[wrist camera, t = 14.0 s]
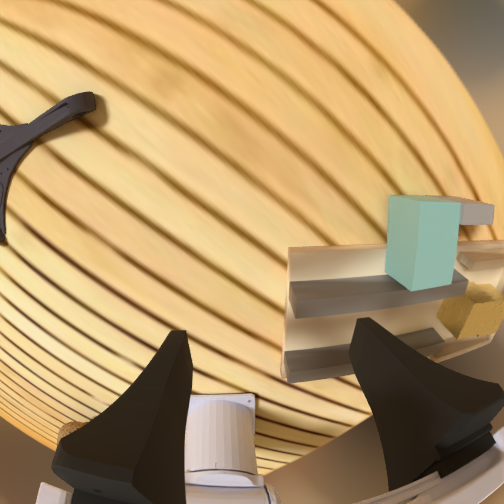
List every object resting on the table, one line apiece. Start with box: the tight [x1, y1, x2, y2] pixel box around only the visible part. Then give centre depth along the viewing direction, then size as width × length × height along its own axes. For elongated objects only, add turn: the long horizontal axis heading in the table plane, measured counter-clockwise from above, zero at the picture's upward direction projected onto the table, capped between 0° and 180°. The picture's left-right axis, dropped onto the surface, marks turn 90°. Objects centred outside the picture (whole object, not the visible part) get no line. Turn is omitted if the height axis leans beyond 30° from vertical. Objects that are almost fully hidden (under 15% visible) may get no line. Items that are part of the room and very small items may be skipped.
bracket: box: [0, 92, 96, 242], centre depth 14 cm, size 14×15×3 cm
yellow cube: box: [476, 284, 504, 337], centre depth 22 cm, size 4×4×4 cm
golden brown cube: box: [436, 281, 496, 340], centre depth 21 cm, size 4×4×4 cm
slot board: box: [280, 240, 504, 383], centre depth 23 cm, size 13×27×4 cm, turn 91°
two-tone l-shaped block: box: [384, 195, 494, 291], centre depth 18 cm, size 5×8×6 cm
